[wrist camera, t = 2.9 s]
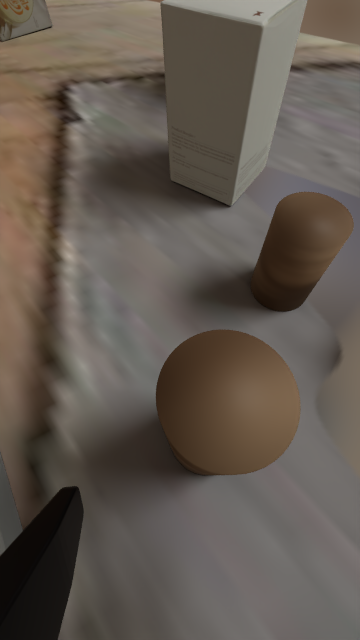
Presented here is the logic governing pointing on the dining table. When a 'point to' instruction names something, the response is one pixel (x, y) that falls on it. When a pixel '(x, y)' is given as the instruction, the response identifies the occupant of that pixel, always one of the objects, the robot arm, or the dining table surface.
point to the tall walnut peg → (227, 403)
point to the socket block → (7, 512)
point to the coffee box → (22, 17)
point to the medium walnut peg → (299, 248)
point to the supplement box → (225, 87)
